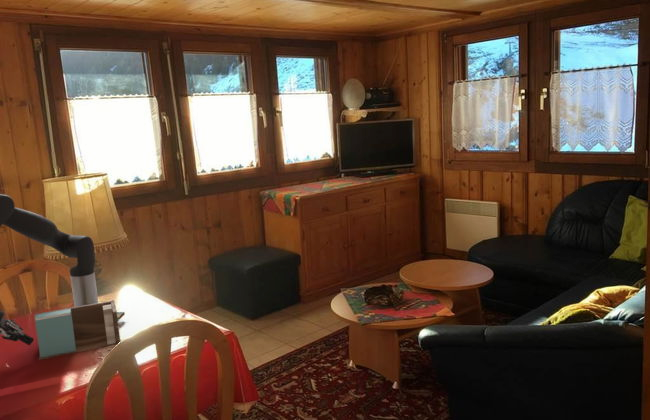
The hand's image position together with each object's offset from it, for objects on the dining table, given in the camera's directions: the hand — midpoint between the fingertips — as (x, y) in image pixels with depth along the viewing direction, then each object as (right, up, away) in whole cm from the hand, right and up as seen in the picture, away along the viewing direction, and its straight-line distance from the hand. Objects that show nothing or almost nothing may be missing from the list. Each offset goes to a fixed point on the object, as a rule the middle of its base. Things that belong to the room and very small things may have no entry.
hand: (31, 342), depth 187 cm
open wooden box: (+12, -4, +10) cm, 16 cm away
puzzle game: (+9, -1, +29) cm, 31 cm away
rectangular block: (+7, -4, +4) cm, 9 cm away
